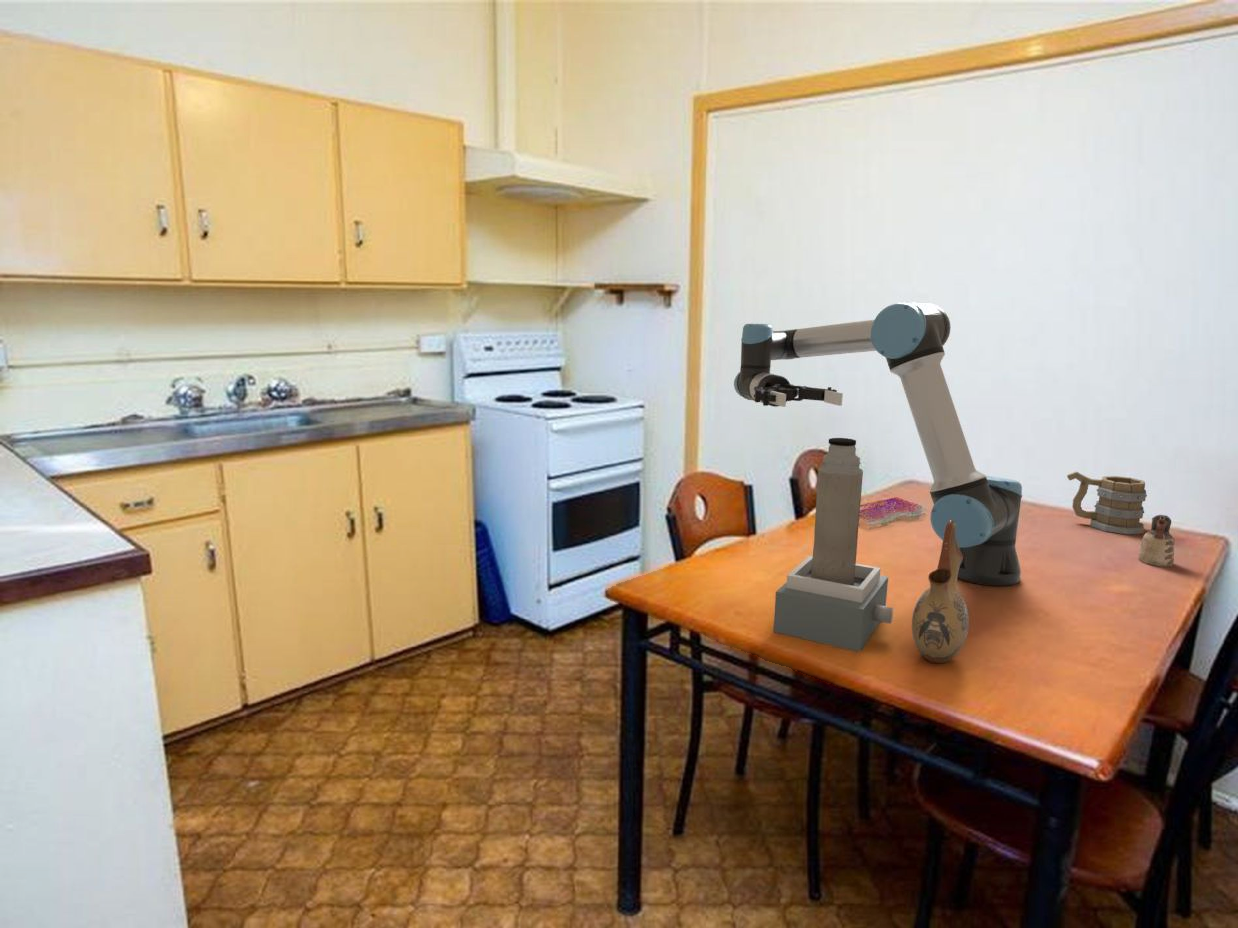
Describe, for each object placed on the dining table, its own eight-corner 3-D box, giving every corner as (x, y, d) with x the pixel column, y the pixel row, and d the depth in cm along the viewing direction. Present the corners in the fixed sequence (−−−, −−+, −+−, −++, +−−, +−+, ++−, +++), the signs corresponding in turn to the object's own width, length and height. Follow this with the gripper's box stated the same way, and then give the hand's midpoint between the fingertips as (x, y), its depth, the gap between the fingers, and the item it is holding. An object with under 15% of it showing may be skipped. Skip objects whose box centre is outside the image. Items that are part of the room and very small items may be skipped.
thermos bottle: (852, 577, 152) (863, 436, 146) (855, 592, 144) (867, 443, 139) (810, 574, 153) (819, 434, 148) (811, 588, 146) (821, 441, 140)
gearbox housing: (900, 618, 153) (905, 567, 151) (877, 655, 136) (882, 599, 134) (806, 598, 163) (809, 550, 161) (773, 631, 146) (776, 578, 144)
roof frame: (872, 532, 213) (874, 514, 212) (829, 520, 226) (830, 502, 224) (937, 517, 230) (938, 500, 229) (893, 506, 242) (895, 490, 241)
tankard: (1142, 526, 222) (1150, 475, 219) (1143, 537, 212) (1151, 483, 209) (1062, 515, 232) (1069, 466, 229) (1059, 525, 222) (1066, 474, 219)
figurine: (1175, 562, 190) (1183, 514, 188) (1170, 568, 185) (1178, 520, 183) (1141, 555, 195) (1148, 509, 193) (1135, 562, 190) (1142, 514, 188)
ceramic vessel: (918, 635, 145) (931, 505, 140) (971, 646, 141) (986, 513, 136) (899, 668, 132) (912, 526, 127) (956, 682, 127) (972, 535, 122)
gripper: (816, 404, 194) (862, 415, 174) (722, 405, 188) (759, 418, 168) (818, 374, 192) (864, 382, 172) (723, 374, 186) (760, 383, 166)
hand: (812, 400), depth 170 cm, fingers open, 13 cm apart
